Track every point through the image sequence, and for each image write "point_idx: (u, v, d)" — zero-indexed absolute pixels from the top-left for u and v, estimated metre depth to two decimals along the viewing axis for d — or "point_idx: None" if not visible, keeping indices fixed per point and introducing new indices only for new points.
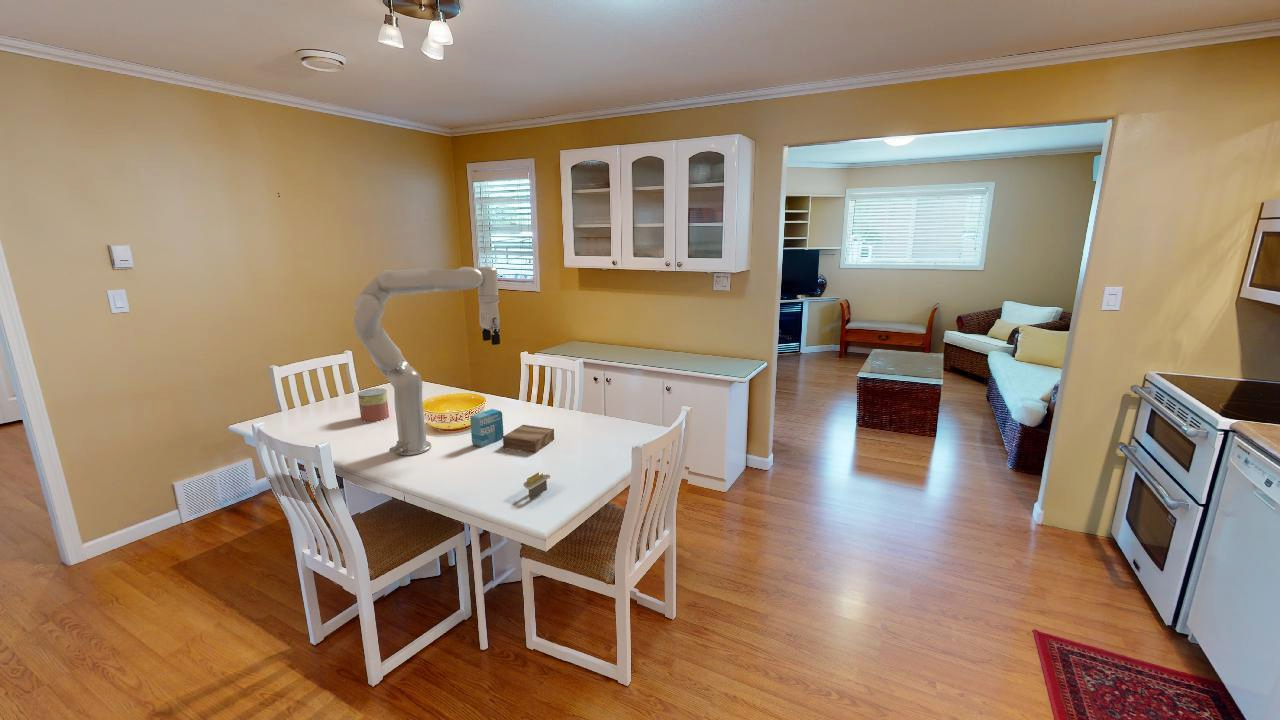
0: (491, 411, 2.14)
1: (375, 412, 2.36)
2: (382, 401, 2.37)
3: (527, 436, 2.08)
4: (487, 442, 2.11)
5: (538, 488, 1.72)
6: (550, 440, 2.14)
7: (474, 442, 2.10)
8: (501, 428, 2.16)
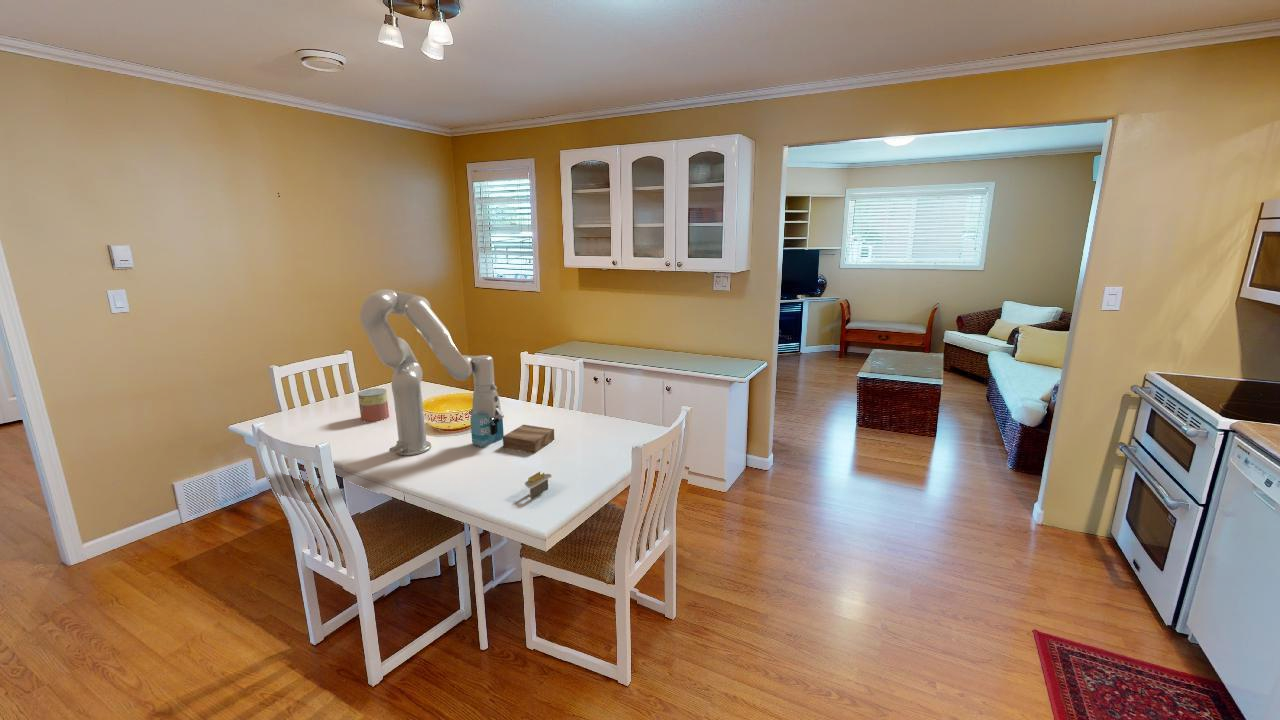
0: None
1: (375, 412, 2.36)
2: (382, 401, 2.37)
3: (527, 436, 2.08)
4: (487, 442, 2.11)
5: (540, 488, 1.72)
6: (550, 440, 2.14)
7: (474, 442, 2.10)
8: (501, 428, 2.16)
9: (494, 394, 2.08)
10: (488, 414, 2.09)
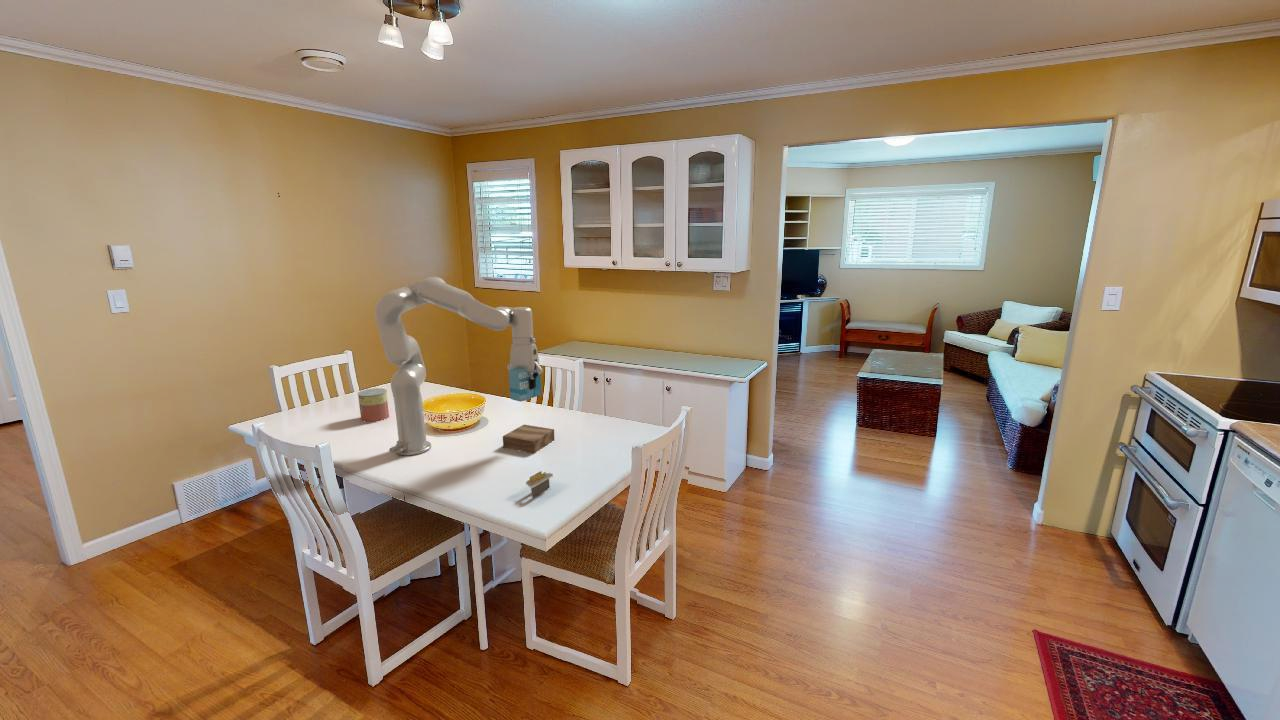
0: None
1: (375, 412, 2.36)
2: (382, 401, 2.37)
3: (527, 436, 2.08)
4: (525, 397, 2.05)
5: (541, 487, 1.73)
6: (550, 440, 2.13)
7: (513, 396, 2.04)
8: (539, 383, 2.10)
9: (533, 347, 2.02)
10: (527, 368, 2.03)
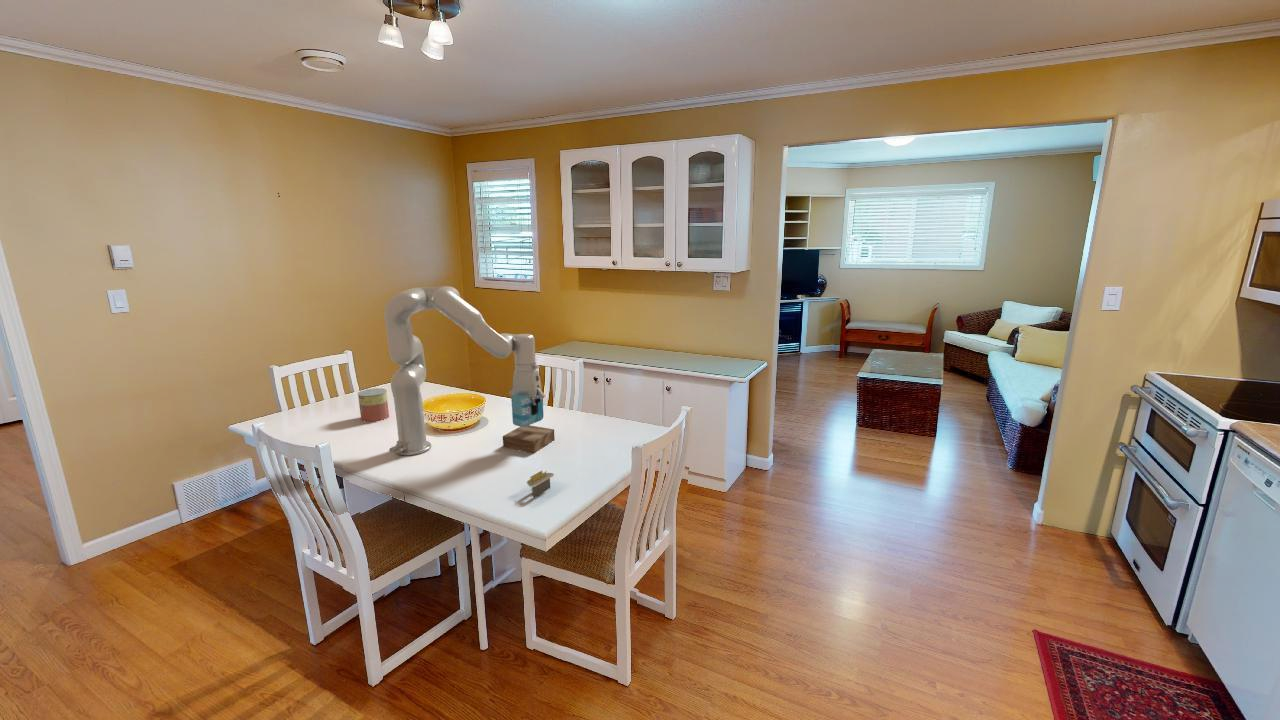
0: None
1: (375, 412, 2.36)
2: (382, 401, 2.37)
3: (527, 436, 2.08)
4: (528, 422, 2.07)
5: (542, 487, 1.73)
6: (550, 440, 2.13)
7: (515, 422, 2.06)
8: (541, 408, 2.12)
9: (535, 373, 2.04)
10: (529, 394, 2.05)
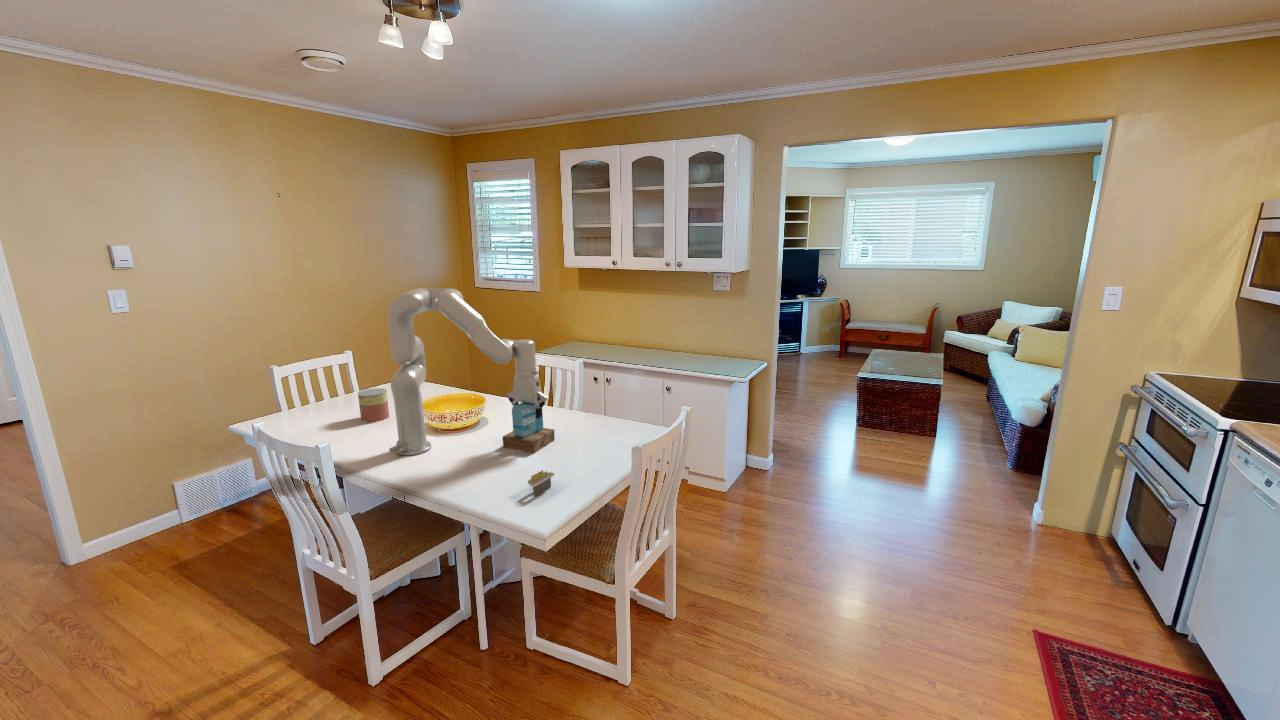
0: None
1: (375, 412, 2.36)
2: (382, 401, 2.37)
3: (527, 436, 2.08)
4: (529, 433, 2.08)
5: (543, 486, 1.73)
6: (550, 441, 2.13)
7: (516, 433, 2.06)
8: (541, 418, 2.13)
9: (536, 379, 2.05)
10: (529, 399, 2.05)
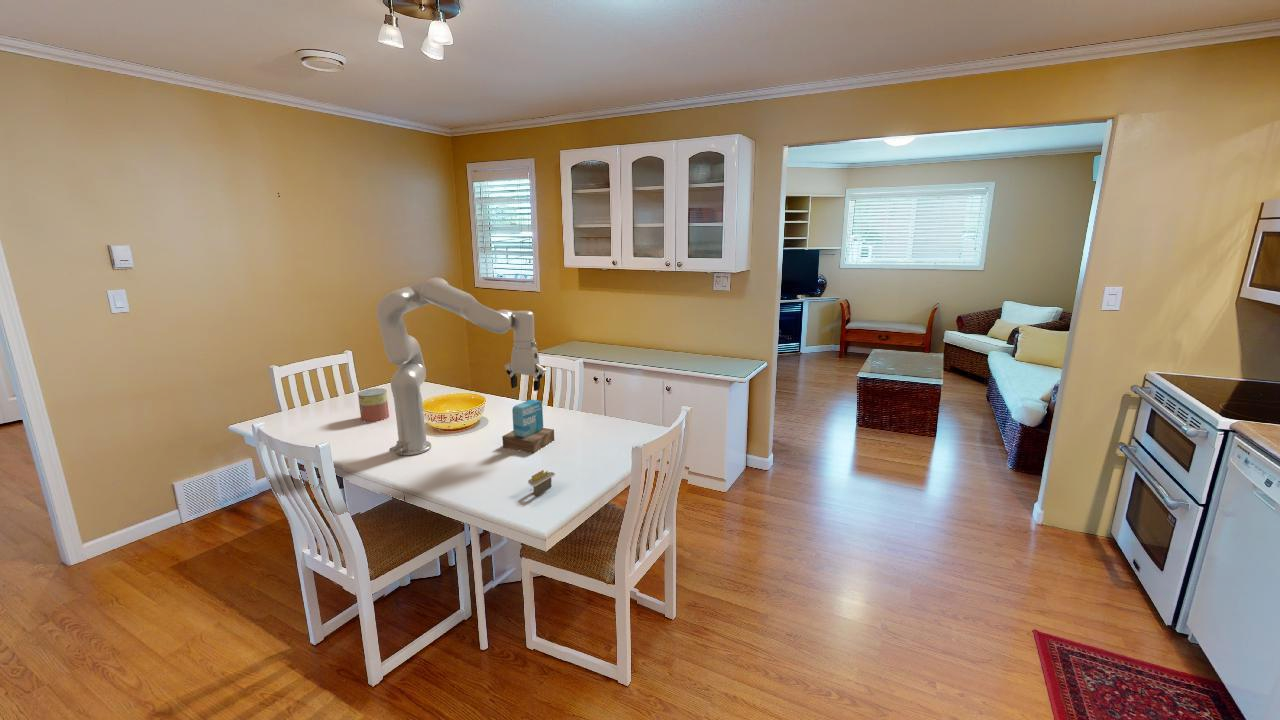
0: (531, 401, 2.11)
1: (375, 412, 2.36)
2: (382, 401, 2.37)
3: None
4: (529, 433, 2.08)
5: (543, 486, 1.74)
6: (550, 441, 2.13)
7: (516, 433, 2.06)
8: (541, 418, 2.13)
9: (534, 351, 2.02)
10: (527, 371, 2.03)
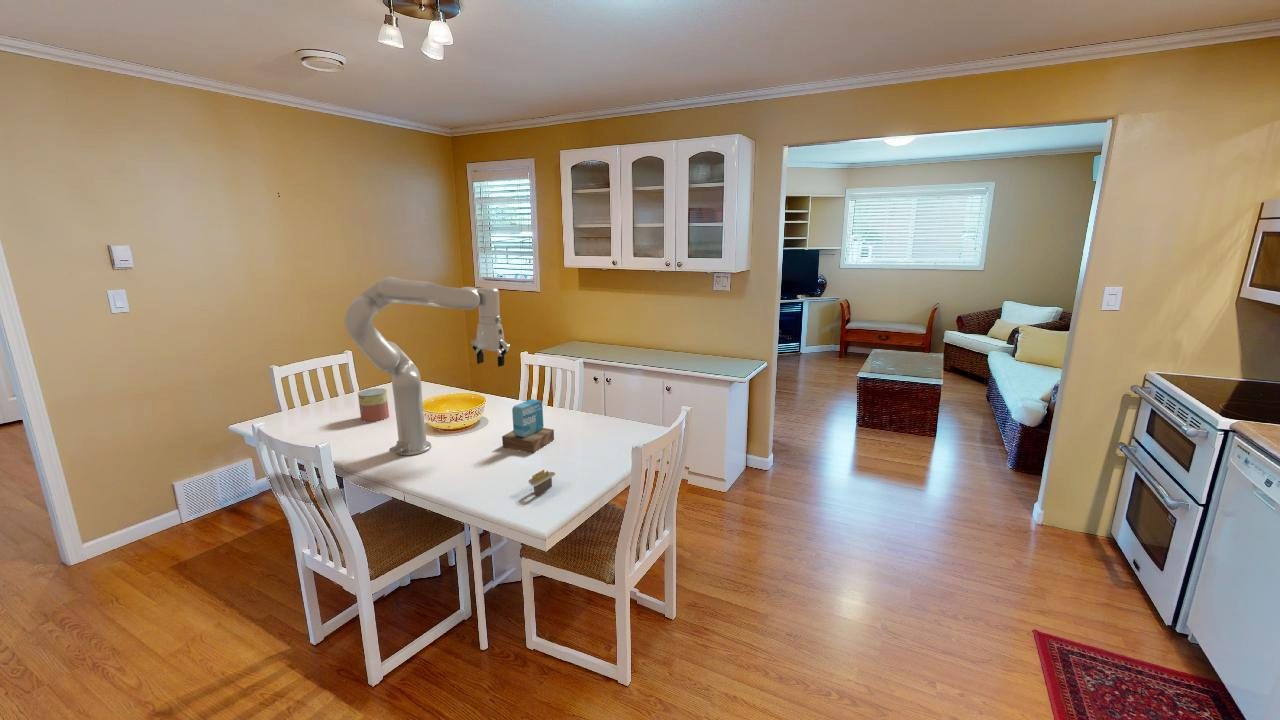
0: (531, 401, 2.11)
1: (375, 412, 2.36)
2: (382, 401, 2.37)
3: None
4: (529, 433, 2.08)
5: (544, 486, 1.74)
6: (549, 441, 2.13)
7: (516, 433, 2.06)
8: (541, 418, 2.13)
9: (498, 327, 2.07)
10: (492, 347, 2.07)
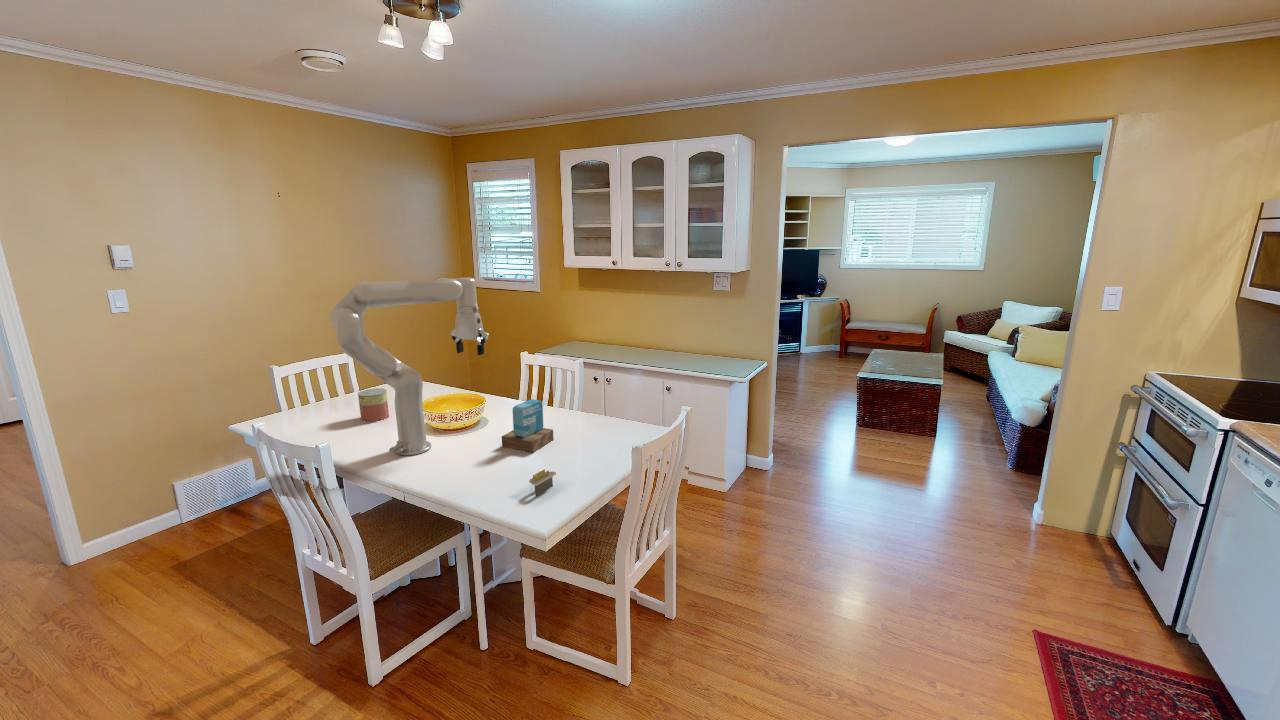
0: (531, 401, 2.11)
1: (375, 412, 2.36)
2: (382, 401, 2.37)
3: None
4: (529, 433, 2.08)
5: (544, 485, 1.74)
6: (549, 441, 2.13)
7: (516, 433, 2.07)
8: (541, 418, 2.14)
9: (477, 316, 2.10)
10: (471, 336, 2.11)
